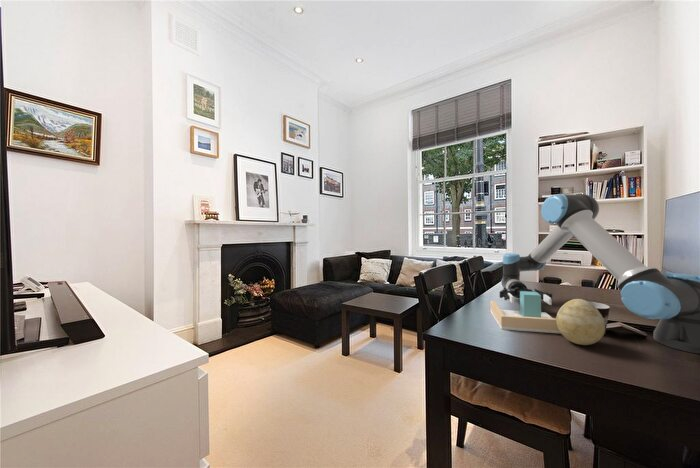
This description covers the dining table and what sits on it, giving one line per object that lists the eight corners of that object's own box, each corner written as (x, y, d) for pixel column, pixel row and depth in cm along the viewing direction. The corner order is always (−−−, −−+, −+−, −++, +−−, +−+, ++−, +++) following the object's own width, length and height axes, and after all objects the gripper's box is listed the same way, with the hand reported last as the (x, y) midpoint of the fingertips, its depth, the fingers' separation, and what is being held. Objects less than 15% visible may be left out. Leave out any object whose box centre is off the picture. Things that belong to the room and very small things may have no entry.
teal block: (536, 315, 120) (536, 291, 120) (541, 319, 115) (541, 295, 114) (520, 314, 122) (519, 291, 122) (524, 318, 116) (524, 294, 116)
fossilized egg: (573, 351, 90) (573, 305, 89) (547, 335, 102) (548, 294, 102) (616, 352, 89) (616, 304, 88) (585, 335, 101) (585, 294, 101)
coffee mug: (597, 327, 108) (597, 301, 108) (616, 336, 100) (616, 308, 99) (564, 327, 110) (564, 301, 109) (580, 336, 101) (580, 308, 101)
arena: (568, 334, 103) (568, 320, 103) (501, 329, 109) (501, 316, 109) (545, 314, 124) (545, 303, 124) (490, 311, 130) (490, 300, 130)
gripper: (546, 297, 133) (567, 311, 113) (488, 295, 140) (497, 308, 120) (546, 281, 133) (567, 293, 112) (488, 280, 140) (497, 290, 119)
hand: (531, 300), depth 116 cm, fingers open, 13 cm apart
